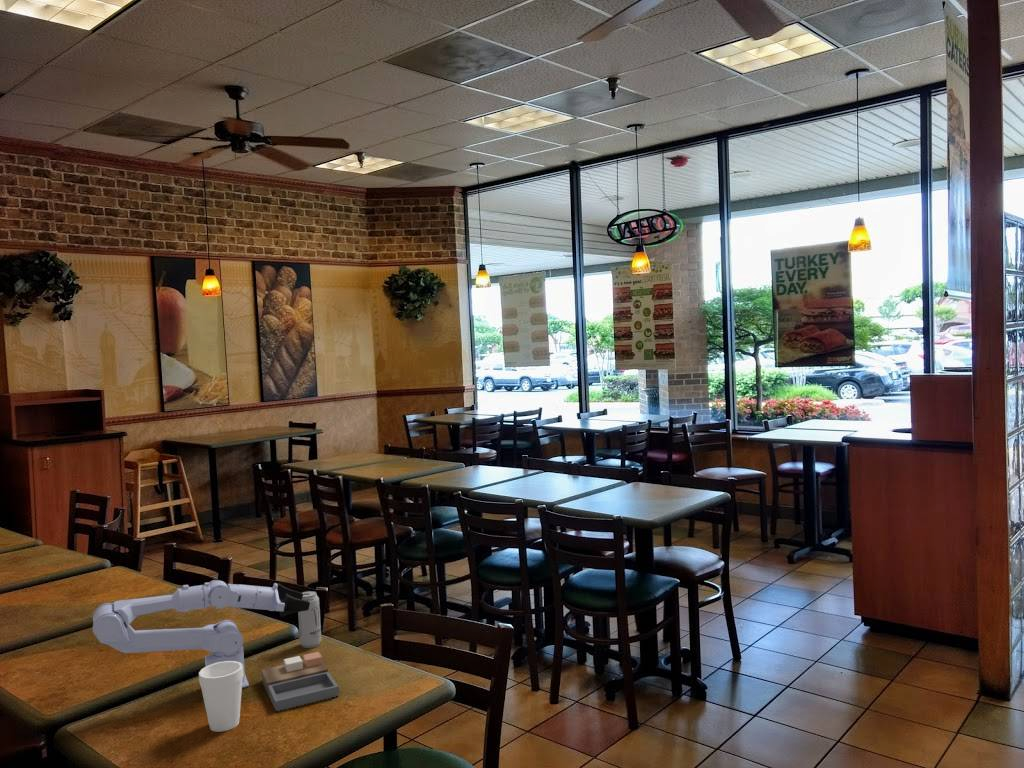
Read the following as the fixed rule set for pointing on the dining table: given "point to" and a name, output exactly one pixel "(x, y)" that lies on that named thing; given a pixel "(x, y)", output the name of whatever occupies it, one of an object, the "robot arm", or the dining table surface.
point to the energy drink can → (310, 621)
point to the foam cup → (222, 694)
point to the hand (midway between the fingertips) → (305, 601)
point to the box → (302, 691)
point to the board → (289, 674)
